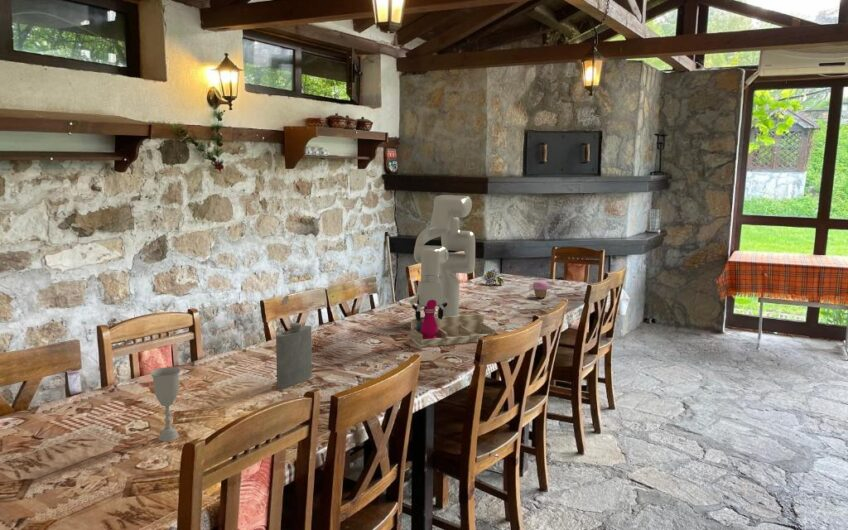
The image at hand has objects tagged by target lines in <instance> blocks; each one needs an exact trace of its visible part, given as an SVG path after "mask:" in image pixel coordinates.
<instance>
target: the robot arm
mask: <svg viewBox="0 0 848 530" xmlns="http://www.w3.org/2000/svg"><path fill="white" fill-rule="evenodd" d="M472 206H473V201H472V199H471V197H470V196H469V195H451V194H443V195H441V194H440V195H437V196H435V197H434V198H433V210H432V213H431V214H432V215H431V219H430V225H428V226H427V227H426V228H424V229H423V230H422V231H421V232H420V233H419V235H418V236H417V238H416V240H415V245H414V249H413V250H414V251H413V258H414V260H415V261H414V262H417V263H419V264H420V281H418V283H417V288H416V289H417V290H416V296H414V297H413V298H411V299H410V300H409V304H410V306H411V308H412V309H413V310H414V311H415V315H414V317H415V318H414V319H416V320H418V321H420V317H422V315H421V314H422V313H421V311H420V310H421V309H422V308H423V307H426V306H427V302H428V301H429V300H435V301H436V307H438V309H437V314H435V317H438V318H439V319H442V317H448V316H461V315H462V314H461V313H459V311H460V280H459V278H458V276H457V275H456V274H467V275H468V274H472V273H473V272H474V271H475V269H476V235H475V234H474V232H472V231H471V230H460V219H459V218H466V217H467V216H468V215H470V213H471V210H472V208H473V207H472ZM439 237H440V239H441V240H440V241H441V245H427V244H426V243H428V242H429V241H431V240H433V239H436V238H439ZM425 244H426V245H425ZM449 251H455V252H449ZM456 251H459V252H456ZM460 252H461V253H460ZM462 252H464V253H462ZM415 303H416V305H415Z"/></svg>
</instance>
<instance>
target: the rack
mask: <svg viewBox="0 0 848 530" xmlns="http://www.w3.org/2000/svg"><path fill="white" fill-rule="evenodd" d="M484 314H485V313H484ZM484 314H483V313H479V314H478V313H477V314H465V315H464V314H460V315H461V316H448V317H442V319H439V318H438V317H436V316H434V318H435V322H436V324H437V327H438V332H437V334H436V336H437V338H435V339H423V334H422V333H421V325H422V323H423V321H424V318H425V316H421V317H420V321H418V320H416V318H411V319H410V340H411V341H413V343H414V344H416V345H417V346H418V347H420V348H424V347H436V346H438V347H439V346H446V345H457V344H458V345H459V343H460V344H467V342H471V343H478V342H477V339H478V338H480V337H483V336H487V335H493V334H495V333H496V332H495V331H496V329H495V328H493V327H491V326H490V325H488V324H486V323H484V321H485V319H484V316H485V315H484Z"/></svg>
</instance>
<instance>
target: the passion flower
mask: <svg viewBox="0 0 848 530" xmlns="http://www.w3.org/2000/svg"><path fill="white" fill-rule="evenodd" d="M500 273H501V272H500V271H496V268H493V269H492V270H488V271H487V272H486V273H485V274H484V275H483V277H482V278H481V279H482V280H484V281H485V284H487V286H490V285H491V284H494V283H495V284H496V283H497V282H498V285H499V286H502V284H504V279H505V276H504V275H500ZM501 277H502V278H503V279H502V278H501Z"/></svg>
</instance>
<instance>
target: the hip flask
mask: <svg viewBox="0 0 848 530" xmlns="http://www.w3.org/2000/svg"><path fill="white" fill-rule="evenodd" d="M289 327H290V329H289V330H287V331H284V332H282V333H277V334H276V335H275V341H276V342H275V346H276V347H275V348H276V349H275V352H276V357H275V358H276V388H277V389H279V390H285V389H288V388H290V387H294V386H296V385H299V384H301V383H304V382H306V381H307V380H308V379H310V378H312V377H313V375H312V374H313V373H312V369H313V367H312V366H313V365H312V361H313V360H312V355H313V354H312V352H313V351H312V326H311V325H303V326H302V323H300V322H293V323H290V324H289Z"/></svg>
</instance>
